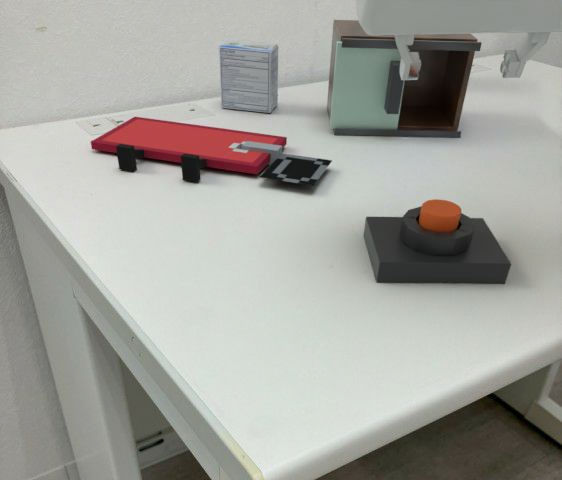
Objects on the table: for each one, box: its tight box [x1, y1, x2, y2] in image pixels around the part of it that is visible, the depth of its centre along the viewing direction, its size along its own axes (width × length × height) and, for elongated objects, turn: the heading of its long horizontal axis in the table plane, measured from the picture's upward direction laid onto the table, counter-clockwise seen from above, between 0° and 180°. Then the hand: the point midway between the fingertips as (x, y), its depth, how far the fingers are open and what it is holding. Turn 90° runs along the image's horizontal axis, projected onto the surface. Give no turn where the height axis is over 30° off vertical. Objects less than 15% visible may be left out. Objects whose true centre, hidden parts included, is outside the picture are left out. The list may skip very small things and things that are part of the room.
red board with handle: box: [90, 116, 333, 186], centre depth 74 cm, size 30×3×15 cm
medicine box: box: [218, 39, 279, 114], centre depth 88 cm, size 8×4×9 cm, turn 76°
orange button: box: [419, 198, 462, 232], centre depth 55 cm, size 4×4×2 cm
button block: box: [363, 205, 512, 285], centre depth 56 cm, size 12×9×4 cm
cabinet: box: [326, 19, 482, 138], centre depth 84 cm, size 18×12×12 cm, turn 92°
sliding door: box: [329, 41, 410, 130], centre depth 79 cm, size 10×3×11 cm, turn 92°
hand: (458, 75), depth 55 cm, fingers open, 8 cm apart
